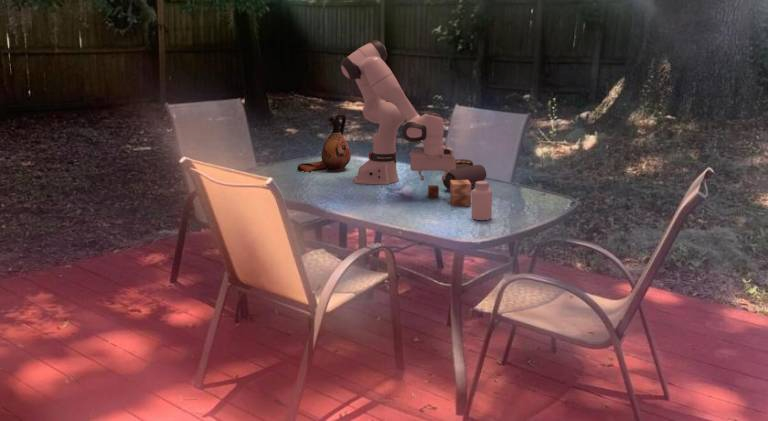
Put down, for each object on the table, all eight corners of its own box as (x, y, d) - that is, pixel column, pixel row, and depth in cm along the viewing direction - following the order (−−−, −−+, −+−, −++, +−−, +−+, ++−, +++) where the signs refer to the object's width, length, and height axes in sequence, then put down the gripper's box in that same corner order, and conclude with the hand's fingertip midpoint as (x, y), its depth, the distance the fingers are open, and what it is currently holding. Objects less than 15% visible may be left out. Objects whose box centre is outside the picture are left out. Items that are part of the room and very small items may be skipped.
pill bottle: (469, 216, 277) (470, 180, 273) (488, 215, 278) (490, 179, 274) (473, 221, 270) (474, 184, 266) (493, 221, 270) (494, 184, 266)
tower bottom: (452, 206, 291) (452, 195, 290) (450, 202, 299) (450, 191, 298) (470, 206, 291) (471, 195, 290) (468, 201, 299) (468, 190, 298)
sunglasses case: (306, 173, 355) (302, 161, 356) (300, 177, 361) (295, 166, 361) (333, 168, 367) (329, 156, 368) (327, 172, 372) (323, 161, 373)
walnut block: (428, 198, 305) (428, 187, 303) (427, 196, 309) (428, 185, 307) (438, 198, 305) (438, 187, 303) (437, 196, 309) (438, 185, 307)
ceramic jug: (336, 174, 352) (334, 116, 343) (316, 170, 362) (314, 114, 353) (359, 169, 364) (358, 113, 355) (339, 165, 374) (337, 110, 365)
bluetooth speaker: (471, 182, 334) (472, 162, 331) (487, 185, 327) (487, 164, 325) (441, 190, 319) (441, 169, 316) (456, 193, 312) (457, 172, 309)
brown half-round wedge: (472, 178, 341) (473, 159, 338) (473, 181, 335) (473, 161, 332) (448, 178, 342) (448, 158, 339) (447, 181, 336) (448, 161, 333)
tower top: (452, 195, 290) (452, 184, 288) (449, 191, 298) (450, 180, 296) (470, 195, 290) (471, 184, 289) (468, 190, 298) (468, 179, 296)
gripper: (409, 151, 298) (409, 181, 301) (456, 150, 297) (456, 181, 301) (409, 148, 304) (409, 178, 307) (455, 148, 303) (454, 178, 307)
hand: (432, 180), depth 304 cm, fingers open, 8 cm apart
